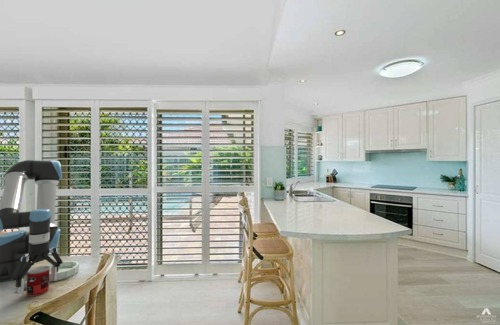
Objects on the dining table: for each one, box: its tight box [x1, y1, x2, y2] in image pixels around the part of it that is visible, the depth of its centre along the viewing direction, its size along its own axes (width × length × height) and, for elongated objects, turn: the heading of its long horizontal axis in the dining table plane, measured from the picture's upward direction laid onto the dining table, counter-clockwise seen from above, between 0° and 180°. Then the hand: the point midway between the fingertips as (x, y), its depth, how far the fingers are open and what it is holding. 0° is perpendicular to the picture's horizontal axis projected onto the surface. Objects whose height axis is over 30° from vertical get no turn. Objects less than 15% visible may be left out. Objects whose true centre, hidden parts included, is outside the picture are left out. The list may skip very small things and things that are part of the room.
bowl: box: [46, 260, 80, 283], centre depth 131 cm, size 17×17×4 cm
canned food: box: [26, 265, 50, 297], centre depth 113 cm, size 8×8×11 cm
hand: (38, 286), depth 113 cm, fingers open, 13 cm apart
